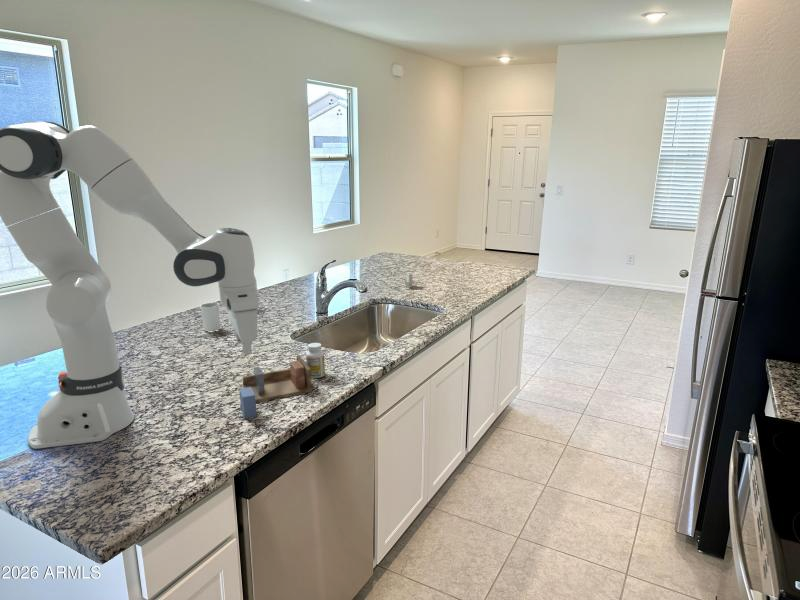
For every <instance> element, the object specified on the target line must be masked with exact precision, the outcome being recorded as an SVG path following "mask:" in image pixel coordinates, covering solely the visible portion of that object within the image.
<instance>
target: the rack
mask: <svg viewBox="0 0 800 600" xmlns="http://www.w3.org/2000/svg"><path fill="white" fill-rule="evenodd" d="M289 365H290V366H289V367H290V368H286V369H284V368H283V369H280V370H279V369H278V370H274V371H273V370H272V371H267V372H263V376H264V389H265V394H262V395H259V394H258V392H257V390H256V388H255V380H254V374H251V375H250V374H249V375H244V376H242V379H241V380H242V386H243V387H242V388H247V387H251V388H252V390H253V392H254V394H255V400H256V403H259V402H260V403H261V402H265V401H270V400H275V399H276V400H277V399H280V398H287V397H291V396H295V395H301V394H307V393H311V392H313V387H312V385H313V384H312V378H311V369H310V368H309V366H308V365H307V364H306V360H304V359H303V358H302V356H301V355H296V360H294V361H289Z"/></svg>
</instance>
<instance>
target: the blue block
mask: <svg viewBox="0 0 800 600" xmlns="http://www.w3.org/2000/svg"><path fill="white" fill-rule="evenodd" d="M238 390H239V401H240V411H241V413H242V415H243V419H245V420H246V419H250V418H255V417H258V416H257V414H258V413H257V402H256V400H255V394H254V392H253V390H252V388H251V387H247V388H243V387H242V388H239V389H238Z"/></svg>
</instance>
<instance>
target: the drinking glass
mask: <svg viewBox="0 0 800 600" xmlns="http://www.w3.org/2000/svg"><path fill="white" fill-rule="evenodd" d="M199 307H200V312H201V318H202V319H201V320H202V326H203V331H204V330H205V331H215V330H218V329H220V330H221V317H220V303H218V302H214V301H213V302H212V301H210V302H204V303H202V304H200V305H199ZM205 331H204V332H205Z"/></svg>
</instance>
